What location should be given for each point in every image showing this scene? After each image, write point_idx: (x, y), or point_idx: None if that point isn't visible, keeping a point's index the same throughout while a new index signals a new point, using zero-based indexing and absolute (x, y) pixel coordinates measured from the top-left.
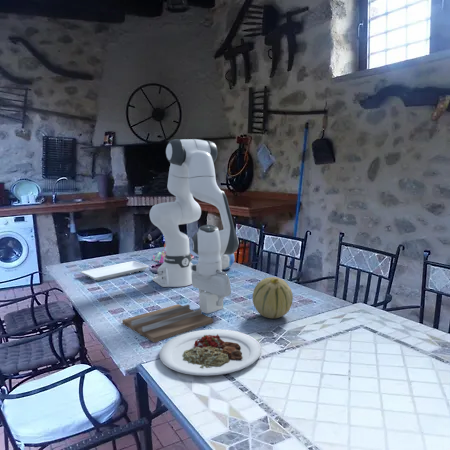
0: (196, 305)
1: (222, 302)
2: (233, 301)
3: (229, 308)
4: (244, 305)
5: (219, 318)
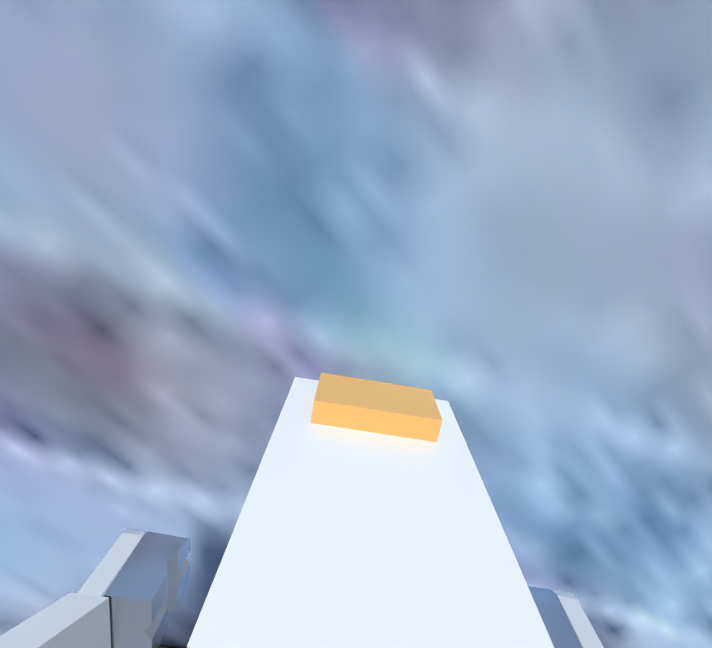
0: (97, 494)
1: (467, 465)
2: (383, 48)
3: (521, 355)
4: (672, 109)
5: (592, 622)
